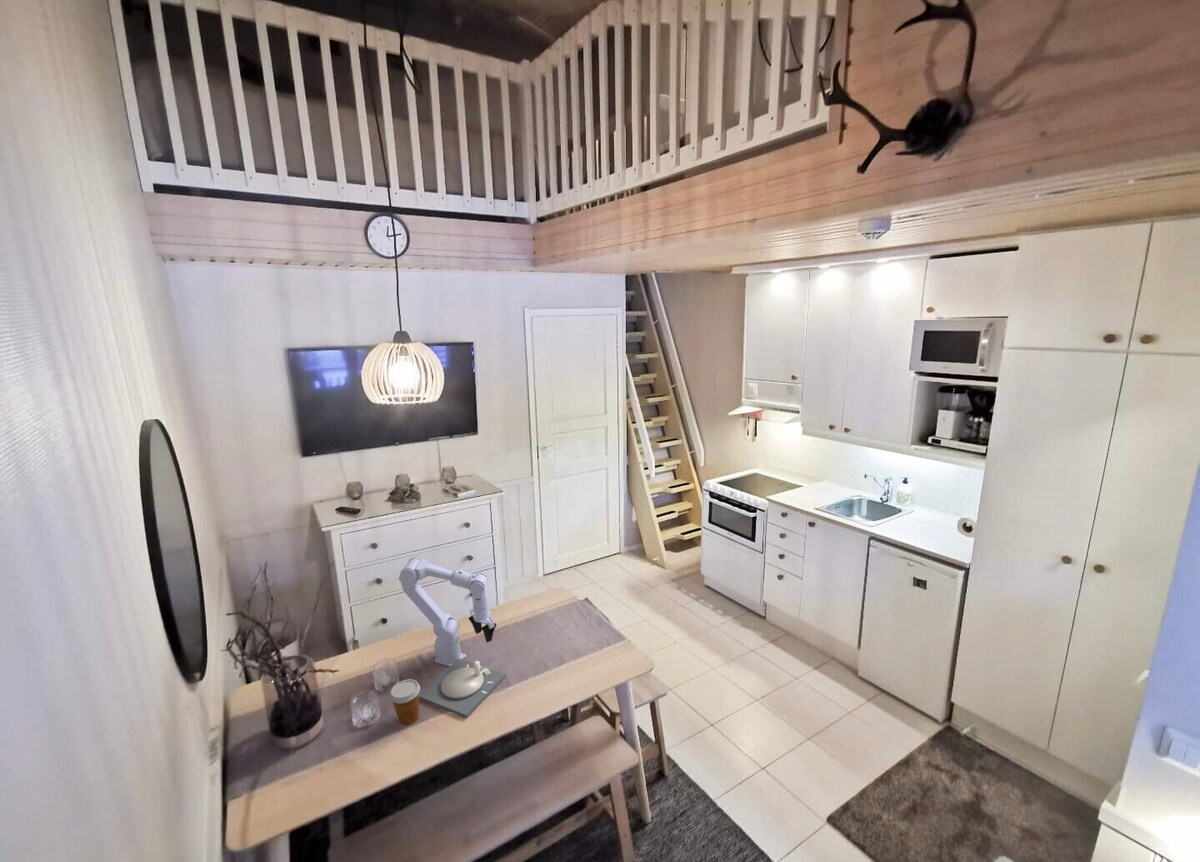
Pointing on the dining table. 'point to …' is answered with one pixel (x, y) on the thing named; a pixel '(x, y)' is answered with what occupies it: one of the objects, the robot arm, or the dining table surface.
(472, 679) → the beige oval dome
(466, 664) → the tuner board
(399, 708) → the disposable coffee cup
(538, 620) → the dining table surface
